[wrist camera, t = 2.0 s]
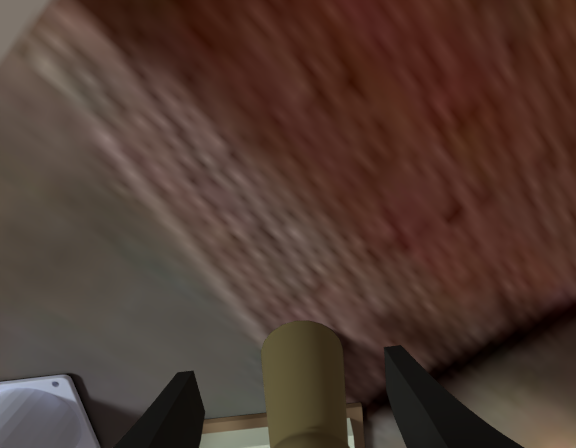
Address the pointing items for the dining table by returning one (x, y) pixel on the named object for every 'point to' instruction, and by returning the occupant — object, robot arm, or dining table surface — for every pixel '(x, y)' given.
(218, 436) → the walled square frame
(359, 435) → the board
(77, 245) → the dining table surface
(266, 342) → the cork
